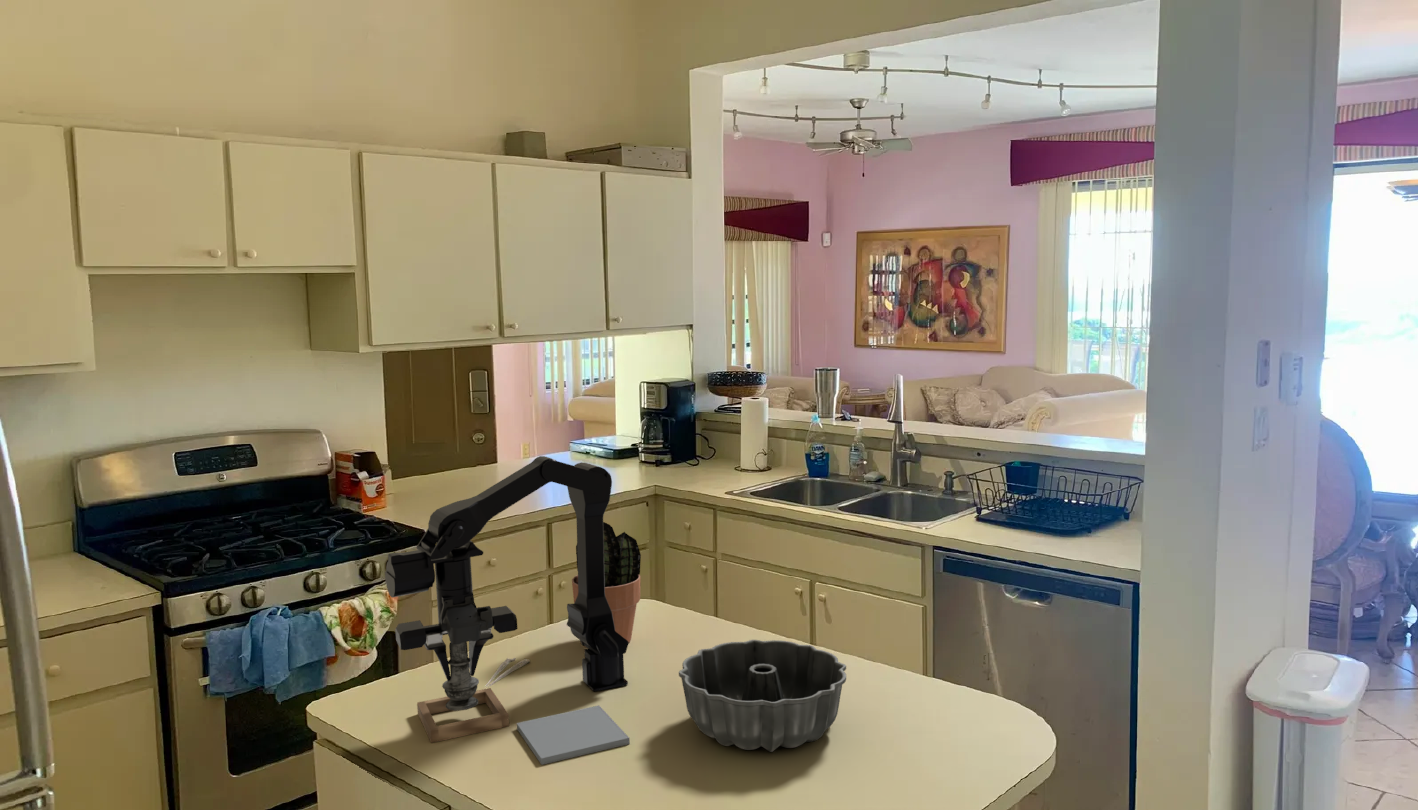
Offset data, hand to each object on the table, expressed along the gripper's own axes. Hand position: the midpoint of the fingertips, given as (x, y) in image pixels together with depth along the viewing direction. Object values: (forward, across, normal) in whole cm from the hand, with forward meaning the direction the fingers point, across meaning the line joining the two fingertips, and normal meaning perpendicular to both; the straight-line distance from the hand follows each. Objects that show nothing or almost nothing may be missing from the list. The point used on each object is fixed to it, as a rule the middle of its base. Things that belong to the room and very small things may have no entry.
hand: (460, 677), depth 164 cm
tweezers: (+8, +10, +15) cm, 20 cm away
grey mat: (+7, +14, -15) cm, 22 cm away
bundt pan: (+8, +42, -27) cm, 51 cm away
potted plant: (+8, +34, +23) cm, 42 cm away
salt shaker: (+5, 0, 0) cm, 5 cm away
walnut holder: (+7, 0, 0) cm, 7 cm away
